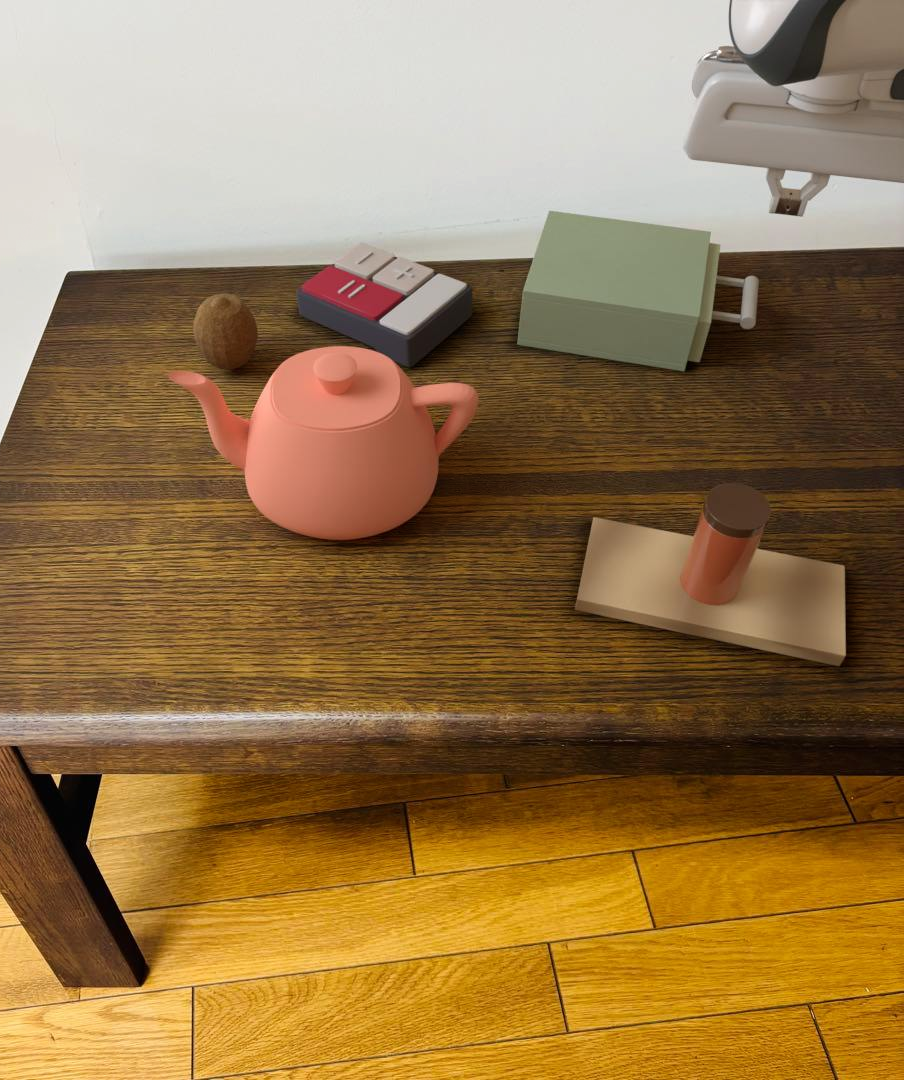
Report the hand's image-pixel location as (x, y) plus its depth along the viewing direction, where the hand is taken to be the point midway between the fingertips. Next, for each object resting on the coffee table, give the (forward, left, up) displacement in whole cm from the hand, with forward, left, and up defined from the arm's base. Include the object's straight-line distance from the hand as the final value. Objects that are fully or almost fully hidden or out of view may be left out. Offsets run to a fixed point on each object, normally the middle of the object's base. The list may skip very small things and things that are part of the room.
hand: (785, 211), depth 90 cm
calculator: (+36, +5, -14) cm, 39 cm away
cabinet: (+14, 0, -14) cm, 20 cm away
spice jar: (+1, +34, -13) cm, 36 cm away
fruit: (+49, +17, -14) cm, 54 cm away
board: (+1, +34, -14) cm, 37 cm away
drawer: (+10, 0, -13) cm, 16 cm away
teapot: (+34, +30, -14) cm, 48 cm away
